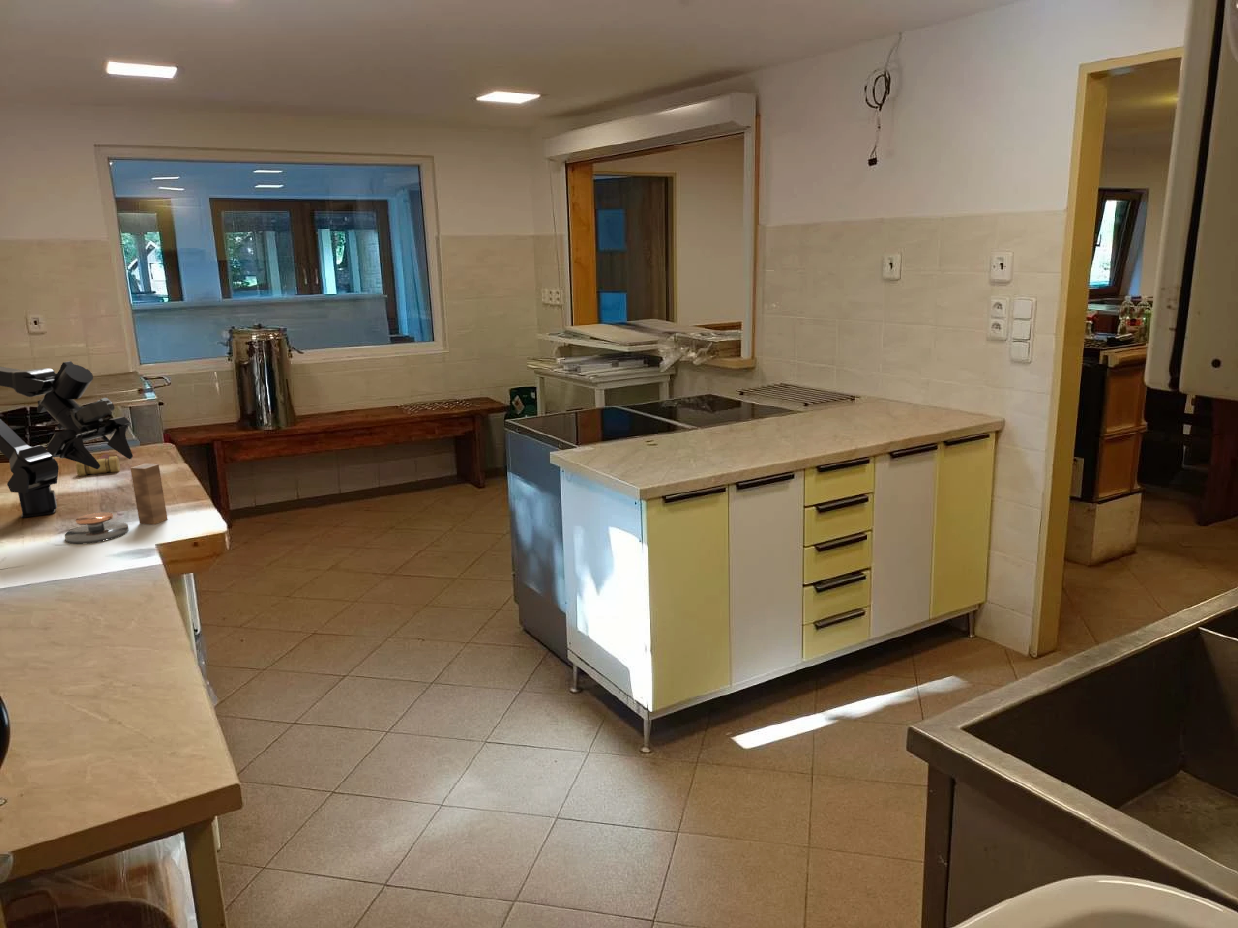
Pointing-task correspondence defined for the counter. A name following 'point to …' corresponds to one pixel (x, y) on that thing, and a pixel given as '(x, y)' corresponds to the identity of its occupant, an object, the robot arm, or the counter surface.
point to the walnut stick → (149, 493)
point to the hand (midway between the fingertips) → (115, 462)
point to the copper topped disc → (95, 528)
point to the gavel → (105, 466)
